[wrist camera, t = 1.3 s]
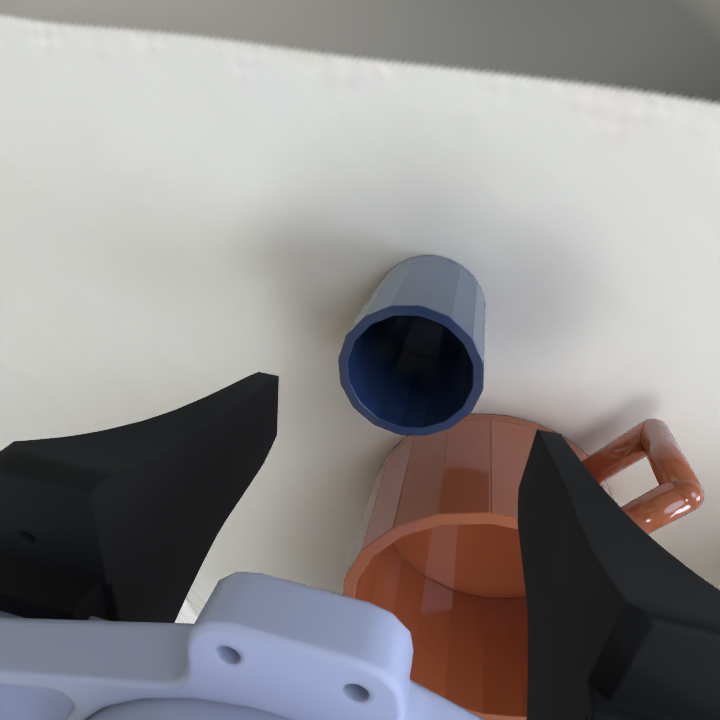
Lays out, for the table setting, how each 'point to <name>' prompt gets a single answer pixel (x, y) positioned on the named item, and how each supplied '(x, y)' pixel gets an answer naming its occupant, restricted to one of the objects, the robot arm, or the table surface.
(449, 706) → the robot arm
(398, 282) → the cup
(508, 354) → the table surface
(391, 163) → the table surface
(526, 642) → the orange handled mug
